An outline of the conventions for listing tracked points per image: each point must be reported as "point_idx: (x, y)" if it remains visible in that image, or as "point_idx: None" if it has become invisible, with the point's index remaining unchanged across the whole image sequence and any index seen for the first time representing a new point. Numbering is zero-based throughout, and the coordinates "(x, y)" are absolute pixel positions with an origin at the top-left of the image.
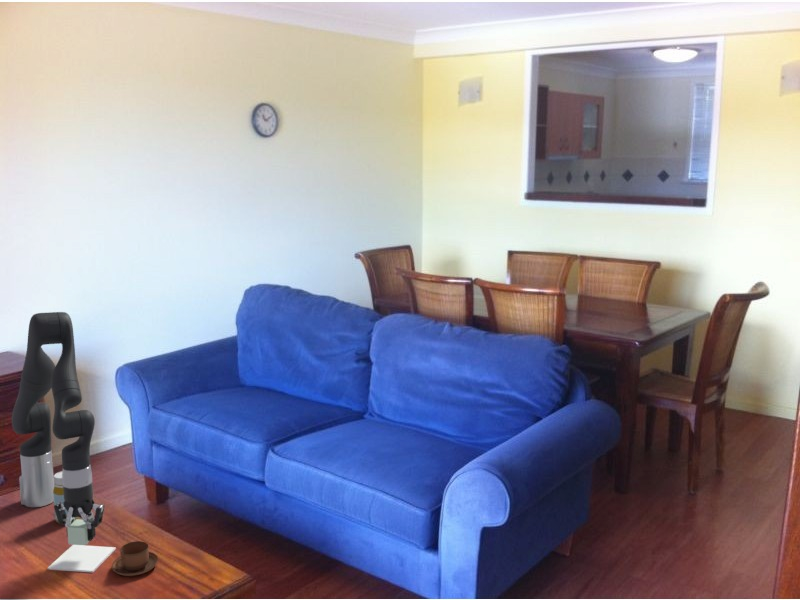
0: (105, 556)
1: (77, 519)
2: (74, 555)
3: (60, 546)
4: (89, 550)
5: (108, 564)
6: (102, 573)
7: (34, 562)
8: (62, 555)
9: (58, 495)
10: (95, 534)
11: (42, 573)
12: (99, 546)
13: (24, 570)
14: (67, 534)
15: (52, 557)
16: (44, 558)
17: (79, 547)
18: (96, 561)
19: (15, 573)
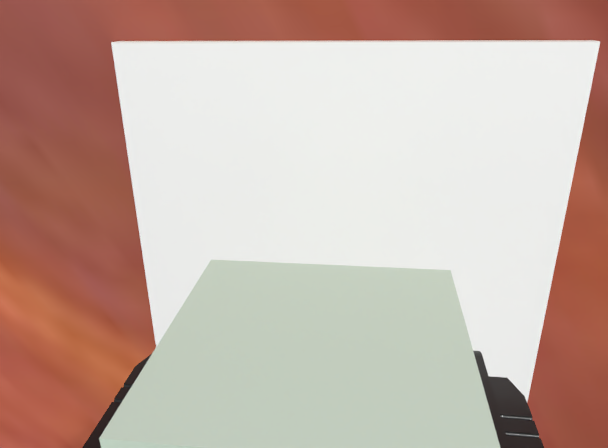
0: (548, 233)
1: (124, 446)
2: (251, 237)
3: (10, 60)
4: (338, 138)
5: (605, 315)
6: (597, 429)
7: (14, 318)
8: (151, 243)
9: None
10: (526, 402)
11: None
12: (403, 45)
13: (33, 407)
14: None
15: (84, 246)
16: (37, 264)
17: (209, 93)
18: (494, 314)
19: (9, 436)
